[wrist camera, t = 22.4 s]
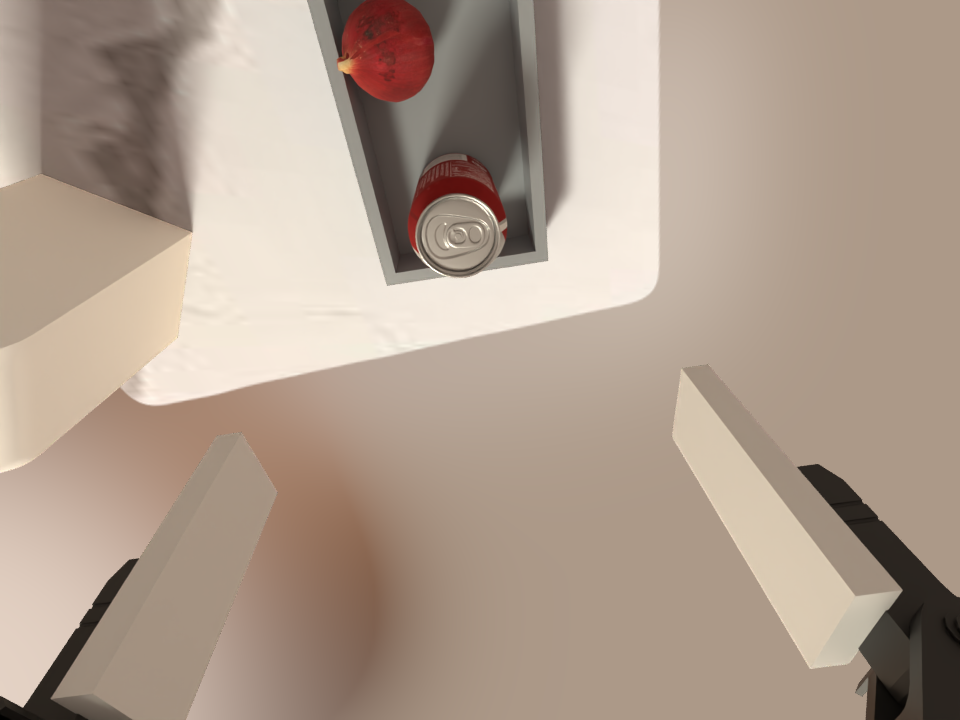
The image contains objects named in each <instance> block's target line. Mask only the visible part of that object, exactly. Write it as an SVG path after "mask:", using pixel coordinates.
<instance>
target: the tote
mask: <svg viewBox="0 0 960 720" xmlns="http://www.w3.org/2000/svg"><path fill="white" fill-rule="evenodd" d="M364 1H366V0H307V2H308V5H309V9H310V12H311V16H312V19H313V23H314V27H315V30H316V34H317V37H318V41H319V44H320V48H321V52H322V55H323V59H324V62H325V66H326V70H327V73H328V77H329V80H330V84H331V87H332V91H333V95H334V98H335V102H336V105H337V109H338V112H339V116H340V120H341V123H342V127H343V130H344V134H345V137H346V141H347V145H348V148H349V152H350V155H351V159H352V162H353V166H354V170H355V173H356V177H357V180H358V184H359V187H360V191H361V195H362V198H363V202H364V205H365V209H366V212H367V216H368V220H369V223H370V227H371V230H372V234H373V237H374V241H375V245H376V248H377V252H378V255H379V259H380V263H381V266H382V270H383V273H384V277H385V280H386V284H387V286H389V285H395V284H402V283H408V282H414V281H421V280H427V279H434V278H440V277H447V276H444V275H441V274H439V273H437V272H436V271H434V270H433V269H431V268H430V267H428V266H427V265H426V264H425V263H423V262H422V260H421V259H420V258H419V257H418V256H417V254H416V253H415V251H414V249H413V247H412V245H411V242H410V239H409V234H408V217H409V213H410V209H411V205H412V202H413V198H414V195H415V191H416V187H417V184H418V180H419V178H420V175H421V173H422V172H423V170H424V169H425V167H426V166H427V165H428V164H429V163H430V162H431V161H433V160H434V159H436V158H437V157H439V156H442V155H444V154H448V153H462V154H466V155H469V156H472V157H474V158H475V159H477V160H478V161H480V162H481V163H482V164H483V165H484V166H485V167H486V168H487V170H488V171H489V173H490V174H491V176H492V179H493V181H494V184H495V187H496V189H497V192H498V195H499V197H500V200H501V203H502V205H503V208H504V211H505V214H506V219H507V236H506V240H505V243H504V246H503V248H502V250H501V252H500V254H499V255H498V257H497V258H496V259H495V260H494V261H493V262H492V263H491V264H490V265H489V266H488V267H486V268H485V269H484V270H483V271H486V270H492V269H499V268H505V267H512V266H518V265H525V264H531V263H537V262H544V261H548V248H547V230H546V213H545V195H544V178H543V160H542V143H541V125H540V107H539V90H538V72H537V55H536V37H535V20H534V2H533V0H405V1H406V2H408V3H409V4H411V5H412V6H414V7H415V8H416V9H418V10H419V11H420V13H421V14H422V16H423V17H424V19H425V20H426V22H427V24H428V25H429V27H430V31H431V35H432V38H433V42H434V65H433V69H432V73H431V76H430V78H429V80H428V81H427V83H426V84H425V86H424V87H423V88H422V90H421V91H420V92H419V93H417V94H416V95H415V96H413V97H411V98H409V99H407V100H405V101H401V102H389V101H385V100H381V99H377V98H375V97H373V96H372V95H370V94H369V93H367V92H366V91H365V90H363V89H362V88H361V87H360V86H358V84H357V83H356V82H355V81H354V79H353V78H352V76H351V75H350V74H346V73H344V72H343V71H339V70H338V67H337V59H338V58H339V57H342V56H343V55H342V35H343V32H344V29H345V25H346V22H347V20H348V17H349V16H350V14H351V13H352V12H353V11H354V10H355V9H356V8H357V7H358V6H359V5H360V4H361V3H363V2H364Z"/></svg>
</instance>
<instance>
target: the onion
mask: <svg viewBox="0 0 960 720" xmlns="http://www.w3.org/2000/svg"><path fill="white" fill-rule="evenodd" d="M342 55H343V56H342V57H339V58H338V59H337V67H338V70H339V71H343V72H344V73H346V74H350V75H351V76H352V78H353V79H354V81H355V82H356V83H357V84H358V86H360V87H361V88H362V89H363V90H365V91H366V92H367V93H369V94H370V95H372V96H373V97H375V98H377V99H381V100H385V101H389V102H401V101H405V100H407V99H409V98H411V97H413V96H415V95H416V94H417V93H419V92H420V91H421V90H422V88H423V87H424V86H425V84H426V83H427V81H428V80H429V78H430V76H431V73H432V69H433V65H434V42H433V38H432V35H431V31H430V27H429V25H428V24H427V22H426V20H425V19H424V17H423V16H422V14H421V13H420V11H419V10H418V9H416V8H415V7H414V6H412V5H411V4H409V3H408V2H406V1H405V0H366V1H364V2H363V3H361V4H360V5H359V6H358V7H357V8H356V9H355V10H354V11H353V12H352V13H351V14H350V16H349V17H348V20H347V22H346V25H345V29H344V32H343V35H342Z"/></svg>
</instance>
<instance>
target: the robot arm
mask: <svg viewBox="0 0 960 720" xmlns="http://www.w3.org/2000/svg"><path fill="white" fill-rule="evenodd" d="M672 438H673V440H674V441H675V443H676V444H677V446H678V448H679V450H680V451H681V453H682V455H683V456H684V458H685V460H686V461H687V463H688V465H689V467H690V468H691V470H692V471H693V473H694V475H695V477H696V478H697V480H698V481H699V483H700V485H701V487H702V488H703V490H704V492H705V493H706V495H707V497H708V498H709V500H710V502H711V503H712V505H713V507H714V508H715V510H716V512H717V513H718V515H719V517H720V519H721V520H722V522H723V523H724V525H725V527H726V528H727V530H728V531H729V534H730V535H731V537H732V539H733V540H734V542H735V543H736V545H737V547H738V549H739V550H740V552H741V554H742V555H743V557H744V559H745V560H746V562H747V564H748V565H749V567H750V569H751V570H752V572H753V574H754V576H755V577H756V579H757V581H758V582H759V584H760V586H761V587H762V589H763V590H764V592H765V594H766V596H767V597H768V599H769V601H770V602H771V604H772V606H773V607H774V609H775V611H776V612H777V614H778V616H779V617H780V619H781V621H782V622H783V624H784V626H785V627H786V629H787V631H788V632H789V634H790V636H791V638H792V639H793V641H794V643H795V644H796V646H797V648H798V649H799V651H800V653H801V654H802V656H803V658H804V659H805V661H806V663H807V664H808V666H809V668H810V669H811V668H819V667H828V666H835V665H844V664H849V663H850V662H851V660H852V659H853V658H854V656H855V655H856V653H857V652H858V651H859V650H860V652H861V653H862V655H863V656H864V657H865V659H866V660H867V662H868V663H869V665H870V666H871V667H872V668H871V669H870V670H869V671H868V672H867V674H866V675H865V676H864V678H863V679H862V680H861V681H860V682H859V684H858V687H857V689H856V692H855V693H857V694H858V695H861V696H863V695H864V694H865V693H866V692H867V708H866V720H960V597H956V596H955V595H954V594H952V593H951V592H950V591H949V590H948V589H947V588H946V587H945V586H944V585H943V584H942V583H940V581H939V580H938V579H937V578H936V577H935V576H934V575H933V574H932V573H931V572H930V571H929V570H928V569H927V568H926V567H925V566H924V565H923V564H922V562H921V561H920V560H919V559H918V558H917V557H916V556H915V555H914V554H913V553H912V552H911V551H910V550H909V549H908V548H907V547H906V546H905V545H904V543H903V542H902V541H901V540H900V539H899V538H898V537H897V536H896V535H895V534H894V533H893V532H892V531H891V530H890V529H889V528H888V527H887V526H886V524H885V523H884V522H883V521H879V520H878V516H877V515H876V514H875V513H874V512H873V511H872V510H871V509H870V508H869V507H868V505H867V504H863V502H862V499H861V498H860V497H859V496H858V495H857V494H856V493H855V492H854V491H853V490H852V489H851V488H850V486H849V485H848V484H847V483H846V482H845V481H844V480H843V479H841V478H839V477H838V476H836V475H835V474H833V473H832V472H830V471H828V470H827V469H825V468H823V467H822V466H820V465H819V464H815V465H807V466H800V467H796V466H795V465H794V463H793V462H792V461H791V460H790V459H789V458H788V456H787V455H786V454H785V453H784V452H783V451H782V449H781V448H780V447H779V446H778V445H777V444H776V443H775V441H774V440H773V439H772V438H771V437H770V436H769V434H768V433H767V432H766V431H765V430H764V429H763V428H762V426H761V425H760V424H759V423H758V422H757V420H756V419H755V418H754V417H753V416H752V415H751V414H750V412H749V411H748V410H747V409H746V408H745V407H744V405H743V404H742V403H741V402H740V401H739V400H738V398H736V396H735V395H734V394H733V393H732V392H731V390H730V389H729V388H728V387H727V386H726V385H725V383H724V382H723V381H722V380H721V379H720V378H719V377H718V375H717V374H716V373H715V372H714V371H713V370H712V368H711V367H710V366H709V365H708V364H707V365H700V366H694V367H686V368H682V369H681V376H680V383H679V390H678V397H677V405H676V412H675V419H674V426H673V433H672ZM277 493H278V492H277V490H276V489H275V487H274V485H273V484H272V482H271V480H270V479H269V477H268V475H267V474H266V472H265V470H264V469H263V467H262V465H261V464H260V462H259V460H258V459H257V457H256V455H255V454H254V452H253V450H252V449H251V447H250V445H249V444H248V442H247V441H246V439H245V437H244V435H243V434H242V432H240V433H233V434H226V435H220V436H216V438H215V439H214V441H213V443H212V444H211V446H210V447H209V449H208V451H207V452H206V454H205V455H204V457H203V458H202V460H201V462H200V463H199V465H198V466H197V468H196V470H195V471H194V473H193V474H192V476H191V478H190V479H189V481H188V482H187V484H186V485H185V487H184V489H183V490H182V492H181V494H180V495H179V496H178V498H177V500H176V501H175V503H174V504H173V506H172V508H171V509H170V511H169V512H168V514H167V515H166V517H165V519H164V520H163V522H162V523H161V525H160V527H159V528H158V530H157V531H156V533H155V534H154V536H153V538H152V539H151V541H150V542H149V544H148V546H147V547H146V549H145V550H144V552H143V554H142V555H141V557H140V558H138V559H131V560H129V561H127V562H126V563H125V565H123V566H122V567H121V569H119V570H118V571H117V572H116V573H115V574H114V575H113V576H112V577H111V578H110V579H109V580H108V582H107V583H106V585H105V586H104V587H103V589H102V590H101V592H100V594H99V595H98V597H97V598H96V599H95V601H94V603H93V604H92V605H93V607H92V609H89V610H88V612H87V613H86V615H85V616H84V618H83V619H82V621H81V622H80V627H79V628H78V629H76V630H75V631H74V633H73V634H72V636H71V637H70V639H69V640H68V642H67V643H66V645H65V646H64V648H63V649H62V651H61V652H60V654H59V655H58V657H57V658H56V660H55V661H54V663H53V664H52V666H51V667H50V669H49V670H48V672H47V673H46V675H45V676H44V678H43V679H42V681H41V682H40V684H39V685H38V687H37V688H36V690H35V691H34V693H33V694H32V696H31V697H30V699H29V700H28V702H27V703H26V704H25V706H24V707H23V708H22V707H20V706H18V705H17V704H15V703H13V702H11V701H9V700H7V699H5V698H3V697H1V696H0V720H186V718H187V715H188V713H189V711H190V708H191V706H192V703H193V701H194V698H195V696H196V693H197V691H198V688H199V686H200V683H201V681H202V678H203V676H204V673H205V671H206V669H207V666H208V664H209V661H210V658H211V656H212V654H213V651H214V649H215V646H216V644H217V641H218V639H219V636H220V634H221V631H222V629H223V627H224V624H225V621H226V619H227V617H228V614H229V612H230V609H231V607H232V604H233V602H234V599H235V597H236V594H237V592H238V589H239V587H240V585H241V582H242V580H243V577H244V575H245V572H246V570H247V567H248V565H249V562H250V560H251V557H252V555H253V552H254V550H255V548H256V545H257V543H258V540H259V538H260V535H261V532H262V530H263V528H264V525H265V523H266V520H267V518H268V515H269V513H270V510H271V508H272V506H273V503H274V501H275V498H276V496H277ZM867 690H868V691H867Z"/></svg>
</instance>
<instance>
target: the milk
mask: <svg viewBox="0 0 960 720" xmlns="http://www.w3.org/2000/svg"><path fill="white" fill-rule="evenodd" d="M192 233H193V232H190V231H188V230H185V229H183V228H180V227H178V226H175V225H172V224H170V223H167V222H165V221H162V220H159V219H157V218H154V217H152V216H149V215H146V214H144V213H141V212H139V211H136V210H134V209H131V208H128V207H126V206H123V205H121V204H118V203H115V202H113V201H110V200H108V199H105V198H103V197H100V196H97V195H95V194H92V193H90V192H87V191H84V190H82V189H79V188H77V187H74V186H71V185H69V184H66V183H64V182H61V181H59V180H56V179H53V178H51V177H48V176H46V175H43V174H40V175H37V176H34V177H31V178H28V179H26V180H23V181H20V182H17V183H14V184H12V185H9V186H6V187H3V188H0V473H2V472H5V471H9V470H12V469H16V468H18V467H20V466H22V465H24V464H27V463H29V462H31V461H32V460H34V459H35V458H36V457H38V456H39V455H40V454H42V453H43V452H44V451H45V450H46V449H48V448H49V447H50V446H51V445H52V444H53V443H55V442H56V441H57V440H58V439H59V438H60V437H62V436H63V435H64V434H65V433H66V432H67V431H69V430H70V429H71V428H72V427H73V426H75V425H76V424H77V423H78V422H79V421H80V420H82V419H83V418H84V417H85V416H86V415H87V414H89V413H90V412H91V411H92V410H93V409H94V408H96V407H97V406H98V405H99V404H100V403H102V402H103V401H104V400H105V399H106V398H107V397H108V396H110V395H111V394H112V393H113V392H114V391H116V390H117V389H118V388H119V387H120V386H122V385H123V384H124V383H125V382H126V381H127V380H129V379H130V378H131V377H132V376H133V375H134V374H136V373H137V372H138V371H139V370H140V369H141V368H143V367H144V366H145V365H146V364H147V363H149V362H150V361H151V360H152V359H153V358H154V357H156V356H157V355H158V354H159V353H160V352H161V351H163V350H164V349H165V348H166V347H167V346H168V345H170V344H171V343H172V342H173V341H174V340H176V339H177V338H178V333H179V325H180V318H181V311H182V304H183V297H184V290H185V283H186V276H187V269H188V262H189V254H190V247H191V240H192Z"/></svg>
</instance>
